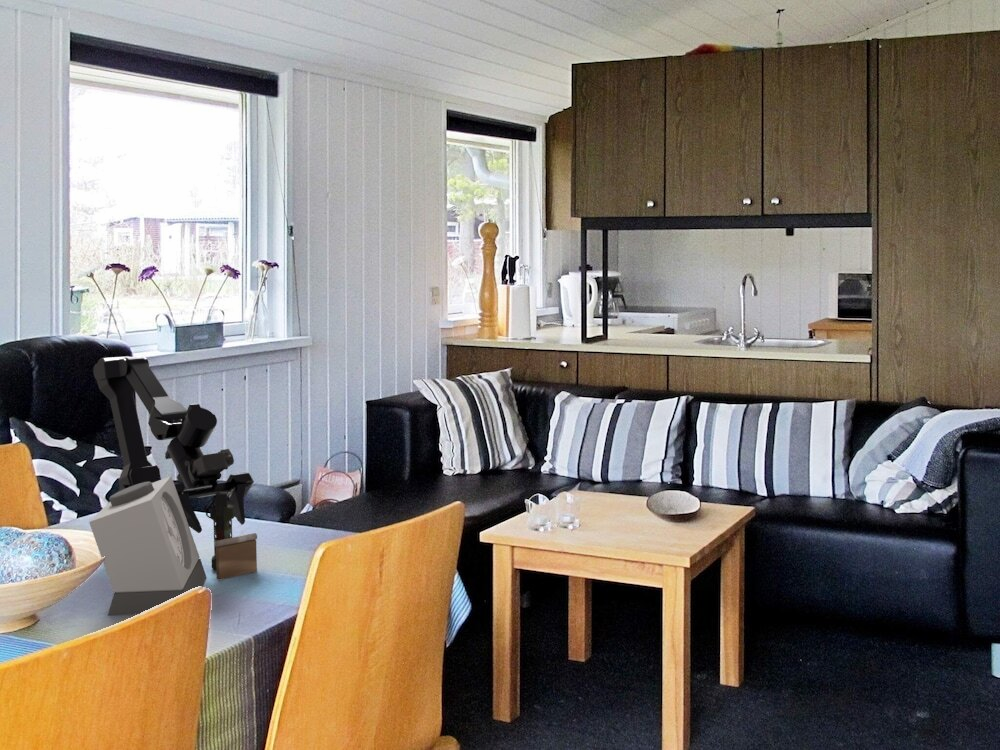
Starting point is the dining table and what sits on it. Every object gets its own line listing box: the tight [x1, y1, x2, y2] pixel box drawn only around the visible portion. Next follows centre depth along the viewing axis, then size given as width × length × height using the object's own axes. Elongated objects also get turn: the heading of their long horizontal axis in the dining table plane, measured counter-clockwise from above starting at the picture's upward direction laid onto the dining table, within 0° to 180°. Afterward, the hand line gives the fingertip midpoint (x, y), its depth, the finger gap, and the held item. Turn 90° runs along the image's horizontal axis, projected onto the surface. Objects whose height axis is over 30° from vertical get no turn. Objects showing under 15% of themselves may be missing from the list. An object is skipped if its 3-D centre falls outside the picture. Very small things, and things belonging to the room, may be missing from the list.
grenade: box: [202, 492, 235, 571], centre depth 215 cm, size 6×6×15 cm
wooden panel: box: [213, 532, 258, 581], centre depth 211 cm, size 1×8×7 cm, turn 135°
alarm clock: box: [88, 475, 208, 616], centre depth 198 cm, size 20×16×20 cm
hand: (222, 527), depth 214 cm, fingers open, 9 cm apart
